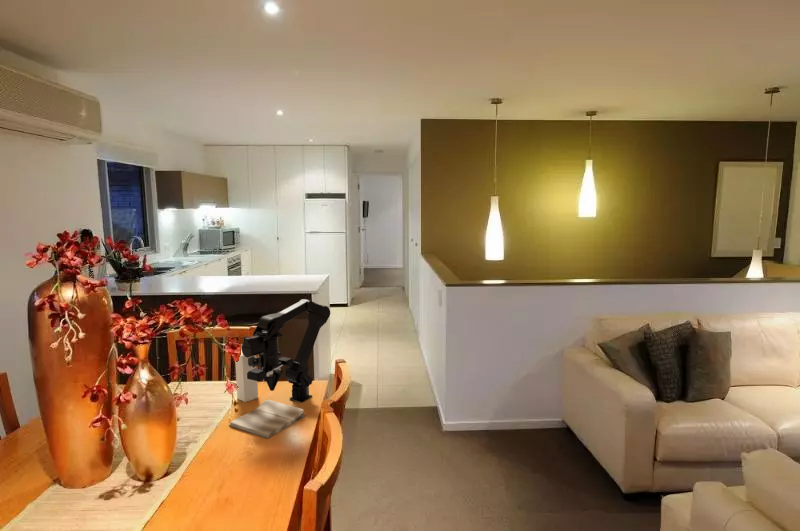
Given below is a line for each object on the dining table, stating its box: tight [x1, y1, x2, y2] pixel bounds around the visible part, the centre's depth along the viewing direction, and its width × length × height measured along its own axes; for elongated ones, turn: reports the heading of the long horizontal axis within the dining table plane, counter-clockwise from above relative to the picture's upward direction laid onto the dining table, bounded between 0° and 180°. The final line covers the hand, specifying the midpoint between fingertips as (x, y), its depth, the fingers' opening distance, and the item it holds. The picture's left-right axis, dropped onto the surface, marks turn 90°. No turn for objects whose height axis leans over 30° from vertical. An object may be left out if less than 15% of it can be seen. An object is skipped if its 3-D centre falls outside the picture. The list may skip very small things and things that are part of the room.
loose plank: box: [255, 398, 305, 422], centre depth 169 cm, size 6×18×1 cm, turn 61°
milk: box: [234, 343, 259, 403], centre depth 182 cm, size 6×6×22 cm
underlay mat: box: [228, 413, 306, 439], centre depth 164 cm, size 19×18×1 cm
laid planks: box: [229, 409, 293, 439], centre depth 161 cm, size 12×18×1 cm, turn 61°
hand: (272, 390), depth 172 cm, fingers closed
